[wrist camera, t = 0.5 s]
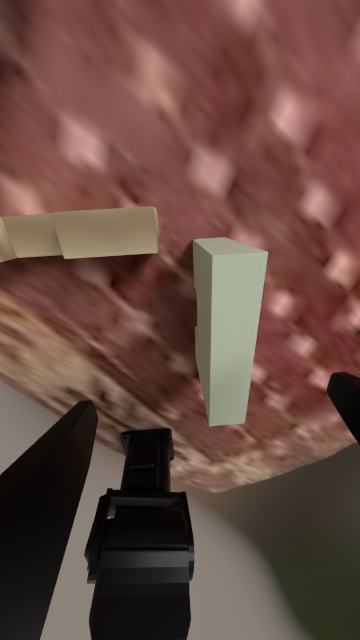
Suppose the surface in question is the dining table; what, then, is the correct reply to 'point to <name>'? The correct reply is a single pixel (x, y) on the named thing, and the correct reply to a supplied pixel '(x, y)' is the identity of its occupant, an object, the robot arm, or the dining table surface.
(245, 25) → the dining table surface
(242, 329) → the pale green plank
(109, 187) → the dining table surface
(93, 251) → the birch rail
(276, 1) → the dining table surface
